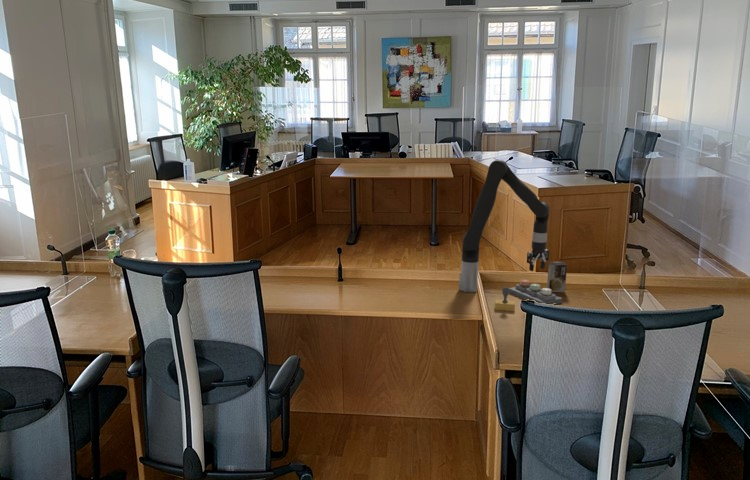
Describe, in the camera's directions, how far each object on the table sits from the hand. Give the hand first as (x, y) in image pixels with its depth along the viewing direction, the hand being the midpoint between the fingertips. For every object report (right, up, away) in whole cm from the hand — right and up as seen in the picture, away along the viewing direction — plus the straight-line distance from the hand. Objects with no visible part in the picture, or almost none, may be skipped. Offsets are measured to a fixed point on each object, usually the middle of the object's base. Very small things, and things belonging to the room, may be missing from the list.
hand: (536, 269), depth 333 cm
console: (0, -15, +4) cm, 16 cm away
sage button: (0, -11, +3) cm, 11 cm away
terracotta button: (-4, -9, +10) cm, 14 cm away
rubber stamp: (-20, -20, -13) cm, 31 cm away
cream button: (+4, -13, -4) cm, 14 cm away
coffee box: (+15, -13, +16) cm, 25 cm away
